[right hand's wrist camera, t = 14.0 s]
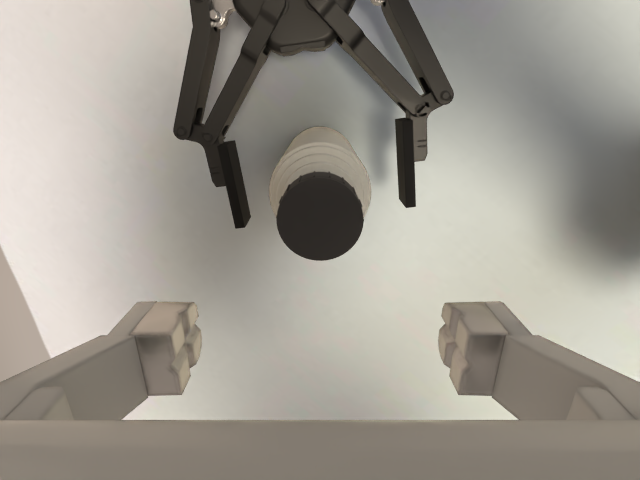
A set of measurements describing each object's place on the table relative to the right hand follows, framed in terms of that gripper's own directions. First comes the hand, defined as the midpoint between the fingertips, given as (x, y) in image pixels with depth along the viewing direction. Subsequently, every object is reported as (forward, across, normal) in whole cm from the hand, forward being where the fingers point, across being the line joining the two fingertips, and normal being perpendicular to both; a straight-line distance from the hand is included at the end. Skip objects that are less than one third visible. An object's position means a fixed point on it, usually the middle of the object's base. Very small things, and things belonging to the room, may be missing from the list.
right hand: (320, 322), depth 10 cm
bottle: (+26, 0, 0) cm, 27 cm away
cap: (+9, 0, 0) cm, 9 cm away
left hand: (+20, 0, -3) cm, 20 cm away
